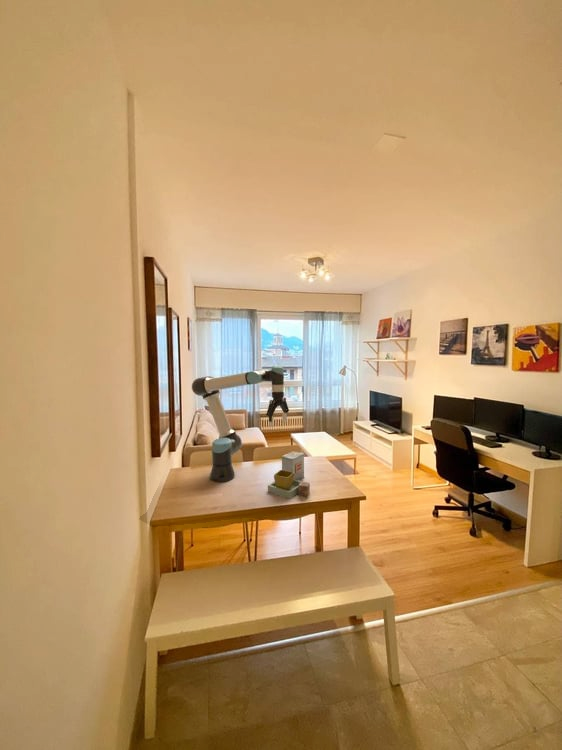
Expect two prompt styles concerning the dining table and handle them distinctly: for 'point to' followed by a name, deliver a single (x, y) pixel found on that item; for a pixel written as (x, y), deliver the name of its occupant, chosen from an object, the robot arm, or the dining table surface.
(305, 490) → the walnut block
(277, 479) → the flower pot
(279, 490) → the tray
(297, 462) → the box
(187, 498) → the dining table surface
